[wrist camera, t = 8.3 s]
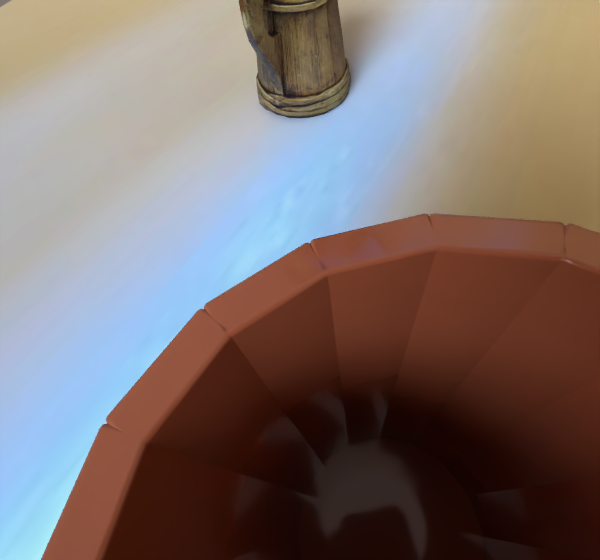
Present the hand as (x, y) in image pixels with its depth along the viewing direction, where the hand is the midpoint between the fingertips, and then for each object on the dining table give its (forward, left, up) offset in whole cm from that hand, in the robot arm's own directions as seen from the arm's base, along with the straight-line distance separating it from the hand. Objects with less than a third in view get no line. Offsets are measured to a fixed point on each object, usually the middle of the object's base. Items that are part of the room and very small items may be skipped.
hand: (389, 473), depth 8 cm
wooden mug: (+31, +6, -12) cm, 34 cm away
